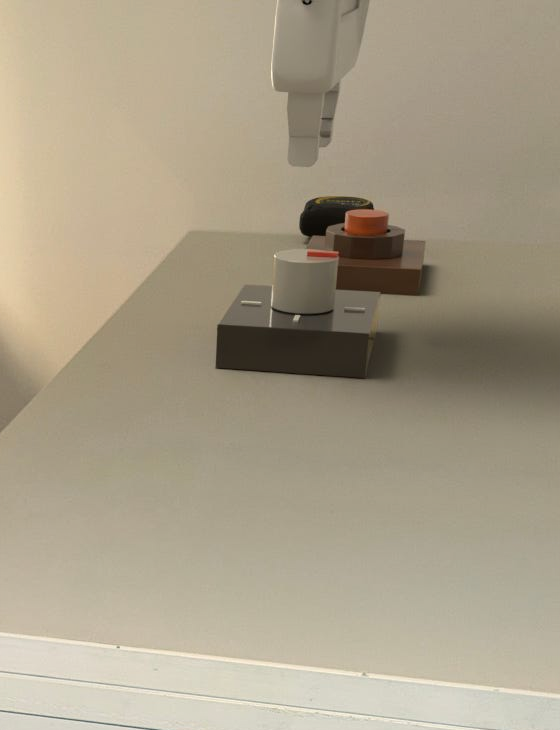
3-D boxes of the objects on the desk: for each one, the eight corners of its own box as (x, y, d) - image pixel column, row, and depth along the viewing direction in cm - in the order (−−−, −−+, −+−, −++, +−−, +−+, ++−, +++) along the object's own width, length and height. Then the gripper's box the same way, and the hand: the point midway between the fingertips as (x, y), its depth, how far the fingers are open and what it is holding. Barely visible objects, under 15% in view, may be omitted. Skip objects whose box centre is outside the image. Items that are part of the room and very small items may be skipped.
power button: (345, 229, 113) (347, 208, 112) (388, 231, 112) (390, 210, 111) (342, 237, 110) (343, 215, 109) (385, 239, 109) (387, 217, 108)
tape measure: (295, 245, 125) (298, 205, 123) (308, 232, 131) (311, 193, 129) (367, 250, 123) (371, 209, 121) (377, 236, 129) (381, 196, 127)
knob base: (242, 324, 99) (244, 282, 97) (376, 332, 97) (380, 289, 95) (215, 368, 89) (217, 321, 87) (364, 378, 86) (369, 331, 85)
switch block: (310, 260, 119) (313, 214, 117) (422, 265, 117) (428, 219, 115) (294, 289, 109) (298, 240, 107) (417, 296, 107) (423, 246, 105)
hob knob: (266, 312, 90) (270, 255, 88) (275, 297, 94) (278, 243, 92) (331, 316, 89) (336, 259, 87) (337, 301, 93) (342, 246, 91)
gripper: (371, -87, 71) (345, 181, 77) (391, -80, 88) (368, 138, 95) (255, -87, 72) (239, 176, 79) (297, -80, 90) (281, 134, 96)
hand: (310, 155), depth 87 cm, fingers open, 8 cm apart
